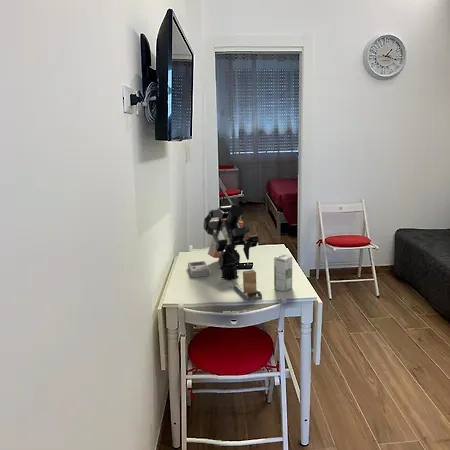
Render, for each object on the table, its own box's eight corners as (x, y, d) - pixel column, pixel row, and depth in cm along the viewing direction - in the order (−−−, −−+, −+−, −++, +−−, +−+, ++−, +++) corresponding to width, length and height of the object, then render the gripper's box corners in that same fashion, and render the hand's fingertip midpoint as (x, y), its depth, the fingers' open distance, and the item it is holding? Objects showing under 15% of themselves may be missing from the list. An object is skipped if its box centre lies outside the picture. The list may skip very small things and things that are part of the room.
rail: (233, 288, 191) (233, 282, 191) (247, 286, 193) (247, 280, 193) (247, 301, 177) (247, 294, 176) (262, 298, 179) (262, 292, 178)
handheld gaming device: (192, 278, 208) (191, 270, 207) (187, 269, 222) (187, 262, 221) (210, 276, 210) (210, 269, 209) (205, 267, 224) (204, 260, 223)
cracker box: (214, 258, 224) (225, 219, 221) (207, 254, 229) (217, 216, 226) (233, 259, 234) (244, 222, 231) (226, 255, 238) (236, 219, 235)
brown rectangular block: (243, 292, 183) (242, 271, 181) (253, 290, 184) (253, 269, 182) (246, 294, 180) (245, 273, 178) (256, 292, 181) (255, 271, 179)
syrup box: (281, 285, 192) (280, 253, 189) (292, 288, 189) (292, 255, 186) (274, 289, 188) (273, 257, 185) (285, 292, 184) (285, 259, 181)
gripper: (216, 222, 184) (226, 253, 176) (257, 217, 190) (268, 247, 182) (211, 236, 193) (221, 267, 185) (250, 231, 199) (261, 260, 191)
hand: (243, 260), depth 185 cm, fingers open, 4 cm apart
